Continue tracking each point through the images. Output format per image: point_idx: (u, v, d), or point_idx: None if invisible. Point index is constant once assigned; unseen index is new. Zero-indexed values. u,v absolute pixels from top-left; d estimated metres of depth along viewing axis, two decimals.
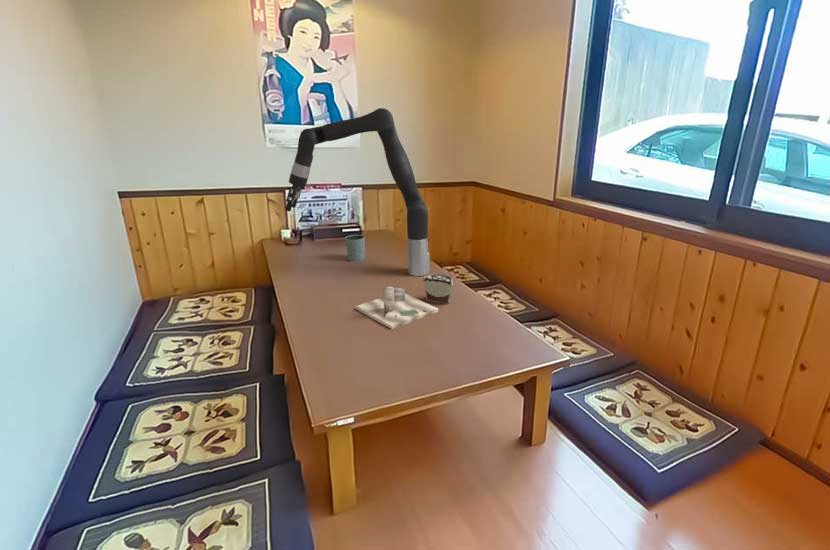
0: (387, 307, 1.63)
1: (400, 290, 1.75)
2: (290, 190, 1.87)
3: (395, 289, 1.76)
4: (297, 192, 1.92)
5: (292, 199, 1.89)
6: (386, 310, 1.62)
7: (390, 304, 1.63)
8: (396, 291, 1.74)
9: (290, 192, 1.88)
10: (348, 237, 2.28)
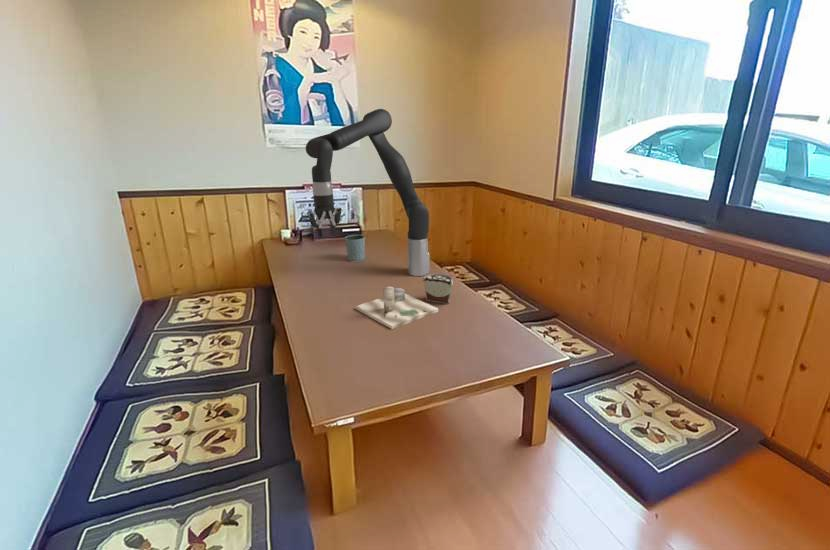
0: (387, 307, 1.63)
1: (400, 290, 1.75)
2: None
3: (395, 289, 1.76)
4: None
5: None
6: (386, 310, 1.62)
7: (390, 304, 1.63)
8: (396, 291, 1.74)
9: None
10: (348, 237, 2.28)
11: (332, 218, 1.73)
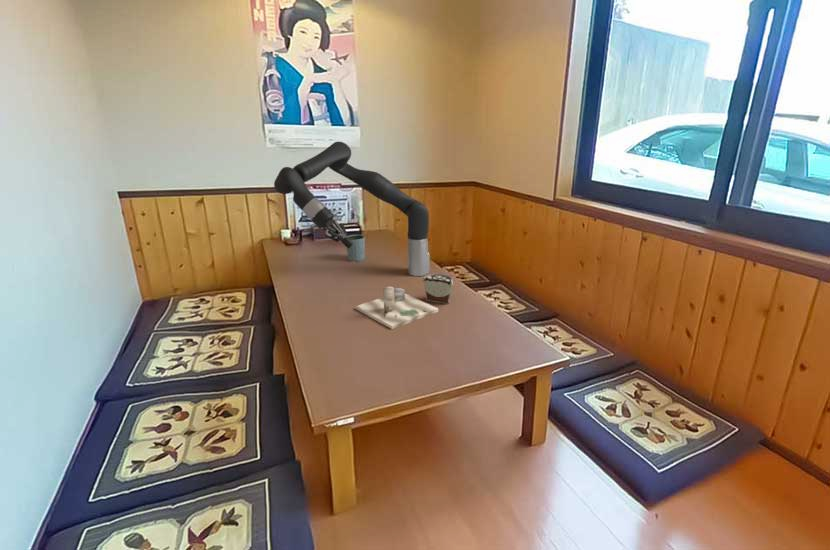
0: (387, 307, 1.63)
1: (400, 290, 1.75)
2: None
3: (395, 289, 1.76)
4: None
5: None
6: (386, 310, 1.62)
7: (390, 304, 1.63)
8: (396, 291, 1.74)
9: None
10: (348, 237, 2.28)
11: (341, 229, 1.65)
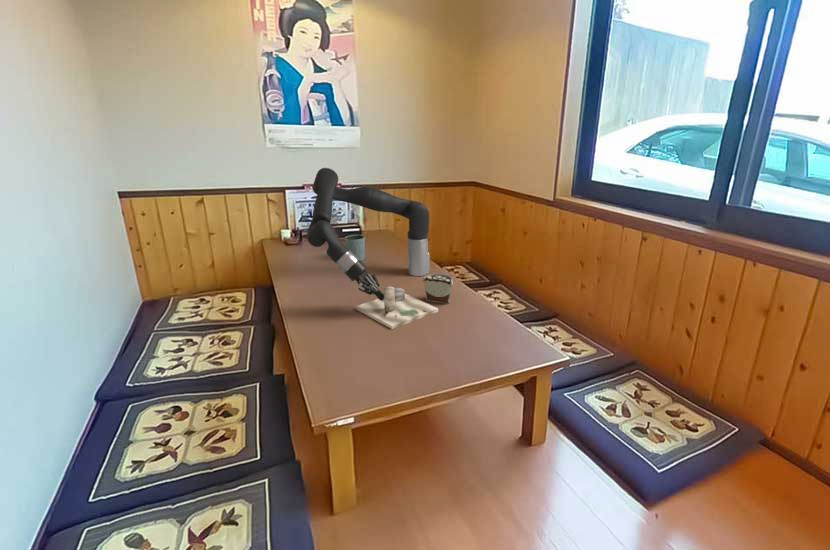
0: (388, 307, 1.63)
1: (400, 290, 1.75)
2: None
3: (395, 289, 1.76)
4: None
5: None
6: (387, 310, 1.62)
7: (390, 304, 1.63)
8: (396, 291, 1.74)
9: None
10: (348, 237, 2.28)
11: (374, 281, 1.65)
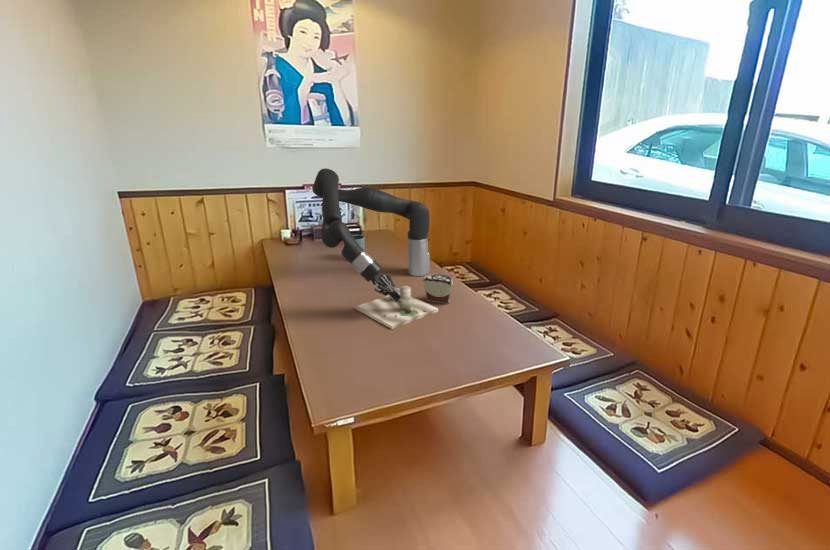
0: (407, 306, 1.64)
1: (399, 289, 1.76)
2: None
3: None
4: None
5: None
6: (409, 309, 1.62)
7: (409, 303, 1.64)
8: (397, 291, 1.74)
9: None
10: None
11: (389, 282, 1.64)
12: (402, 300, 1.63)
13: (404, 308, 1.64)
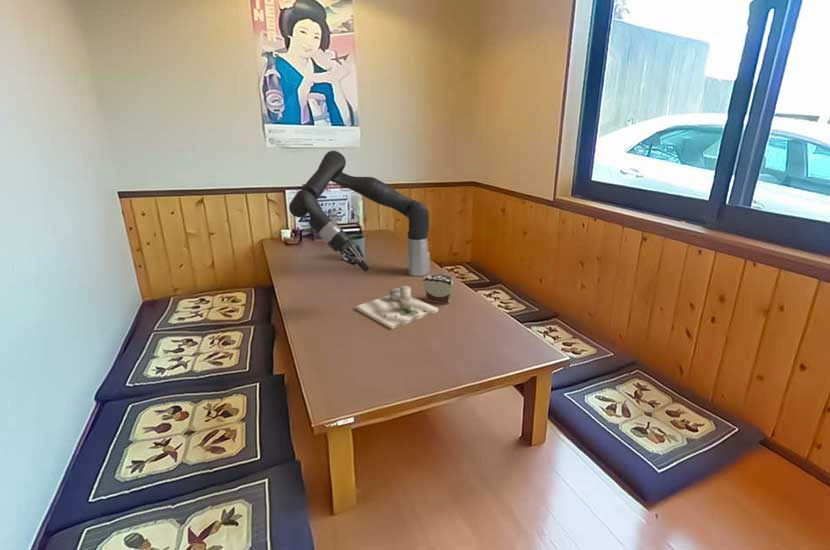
0: (407, 306, 1.64)
1: (399, 289, 1.76)
2: None
3: (393, 290, 1.76)
4: None
5: None
6: (409, 309, 1.62)
7: (409, 303, 1.64)
8: (397, 291, 1.74)
9: None
10: None
11: (357, 252, 1.63)
12: (402, 300, 1.63)
13: (404, 308, 1.64)
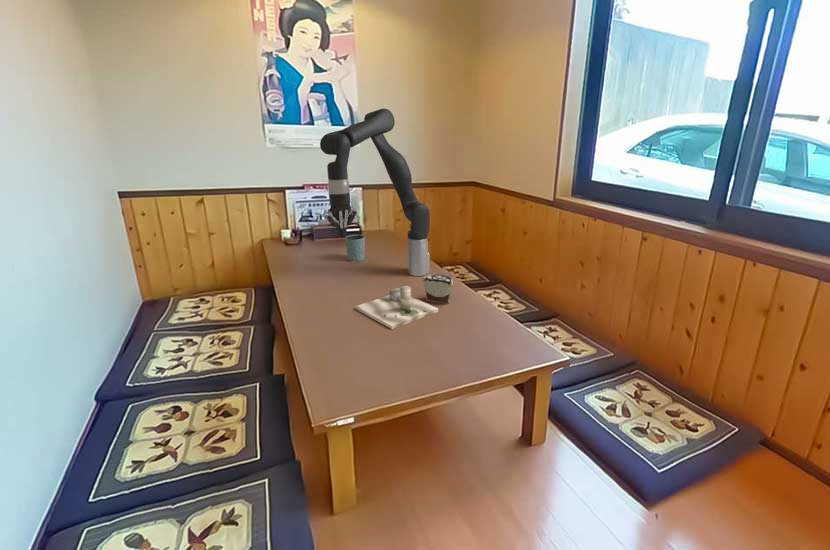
0: (407, 306, 1.64)
1: (399, 289, 1.76)
2: None
3: (393, 290, 1.76)
4: None
5: (348, 220, 1.68)
6: (409, 309, 1.62)
7: (409, 303, 1.64)
8: (397, 291, 1.74)
9: None
10: (348, 237, 2.28)
11: (346, 219, 1.64)
12: (402, 300, 1.63)
13: (404, 308, 1.64)
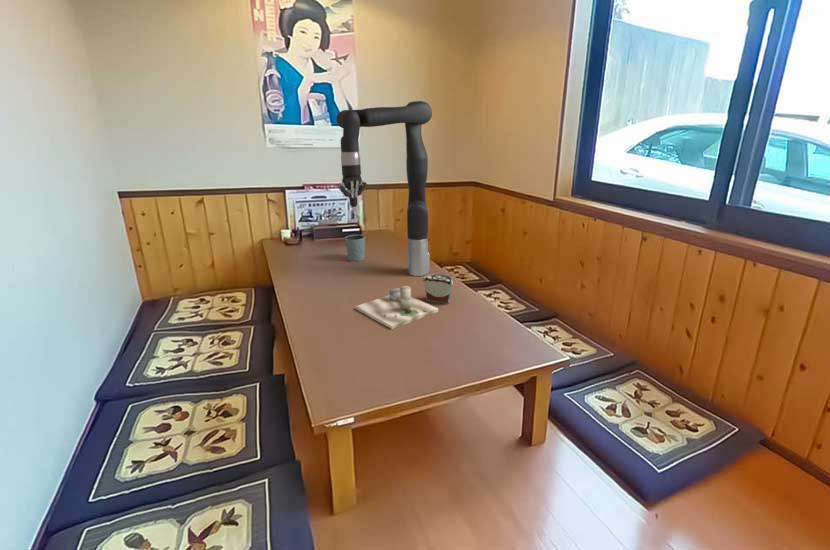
0: (407, 306, 1.64)
1: (399, 289, 1.76)
2: None
3: (393, 290, 1.76)
4: None
5: None
6: (409, 309, 1.62)
7: (409, 303, 1.64)
8: (397, 291, 1.74)
9: None
10: (348, 237, 2.28)
11: (357, 189, 1.78)
12: (402, 300, 1.63)
13: (404, 308, 1.64)
